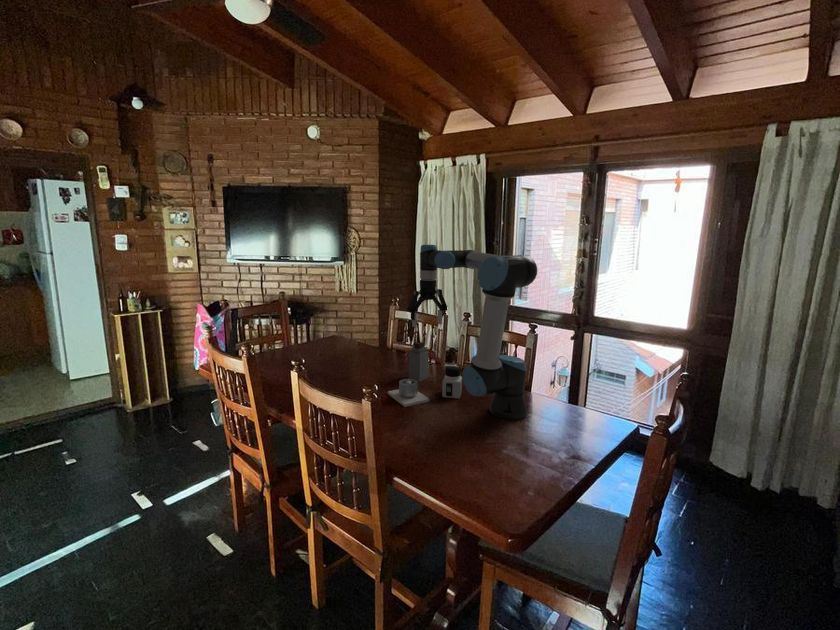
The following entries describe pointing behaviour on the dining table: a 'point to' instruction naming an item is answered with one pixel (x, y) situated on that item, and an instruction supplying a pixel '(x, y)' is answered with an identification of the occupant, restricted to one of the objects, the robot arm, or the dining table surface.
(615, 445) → the dining table surface
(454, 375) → the container
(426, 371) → the perfume bottle
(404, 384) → the hub
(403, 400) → the shaft block
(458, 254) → the robot arm
